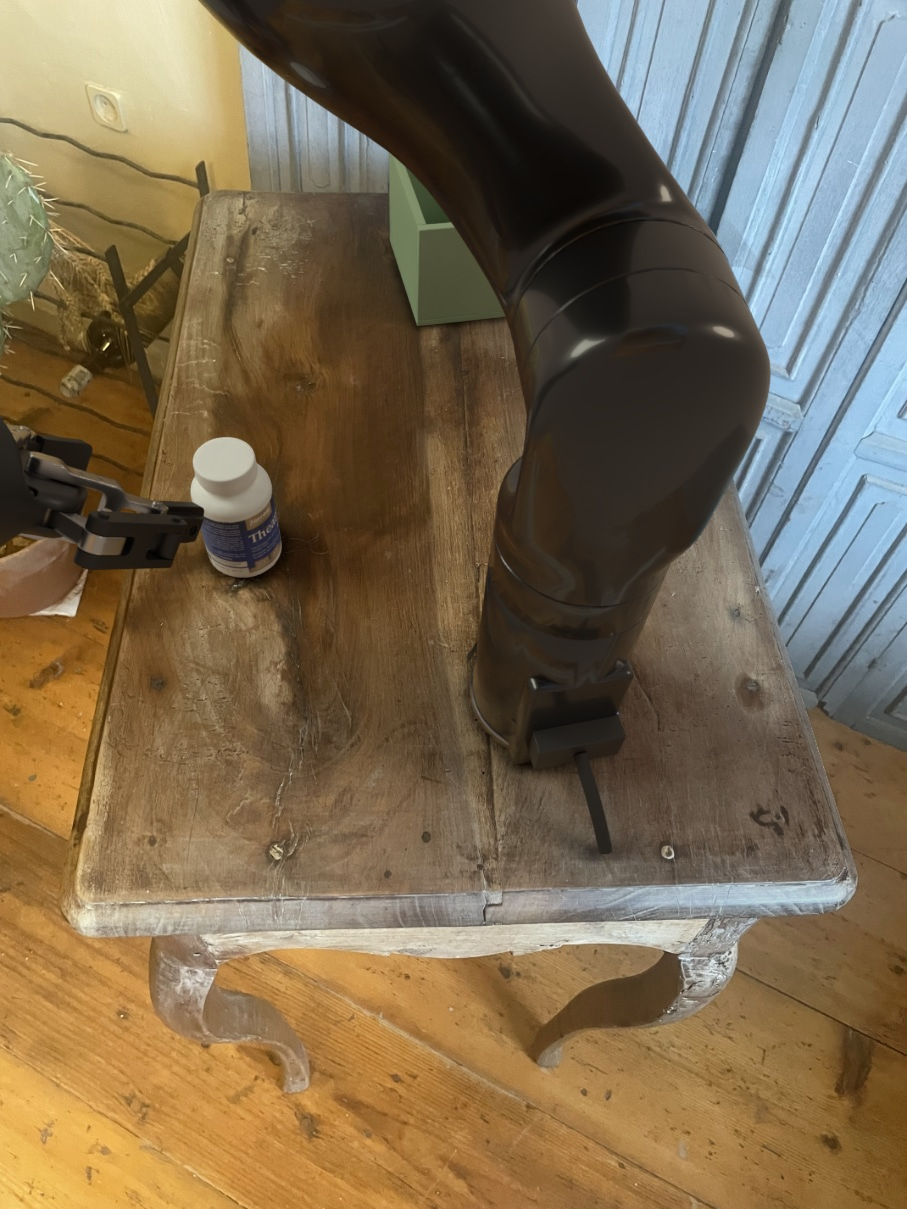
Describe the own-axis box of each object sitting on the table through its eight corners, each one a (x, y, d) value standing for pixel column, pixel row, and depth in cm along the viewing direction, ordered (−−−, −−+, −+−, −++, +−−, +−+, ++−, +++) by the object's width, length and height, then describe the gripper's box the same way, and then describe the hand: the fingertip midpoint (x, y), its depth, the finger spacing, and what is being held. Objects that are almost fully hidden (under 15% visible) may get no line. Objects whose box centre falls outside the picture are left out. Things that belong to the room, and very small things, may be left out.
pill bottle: (269, 586, 62) (250, 496, 54) (198, 572, 63) (168, 480, 55) (292, 530, 65) (277, 436, 57) (224, 517, 66) (199, 422, 58)
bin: (548, 312, 82) (563, 217, 74) (417, 326, 80) (418, 230, 72) (510, 229, 89) (521, 135, 81) (389, 240, 87) (388, 144, 79)
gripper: (19, 463, 32) (258, 482, 47) (-227, 320, 36) (68, 381, 51) (-37, 639, 34) (211, 604, 49) (-266, 485, 38) (30, 496, 53)
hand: (138, 490), depth 50 cm, fingers open, 8 cm apart
